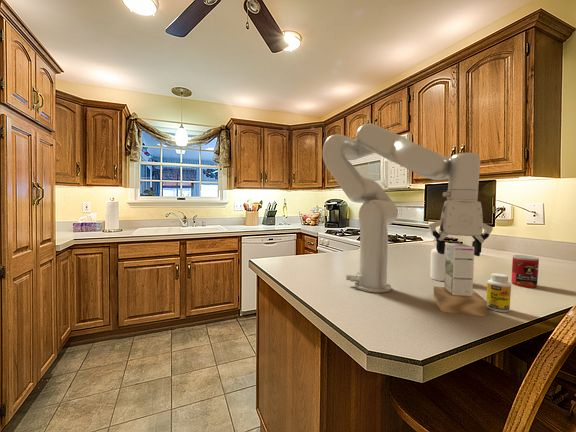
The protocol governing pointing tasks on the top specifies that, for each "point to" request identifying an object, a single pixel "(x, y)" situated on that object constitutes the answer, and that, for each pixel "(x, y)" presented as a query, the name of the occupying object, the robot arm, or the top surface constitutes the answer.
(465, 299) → the oak block
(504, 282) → the supplement bottle
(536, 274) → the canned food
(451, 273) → the syrup box
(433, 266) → the pill bottle
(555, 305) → the top surface
